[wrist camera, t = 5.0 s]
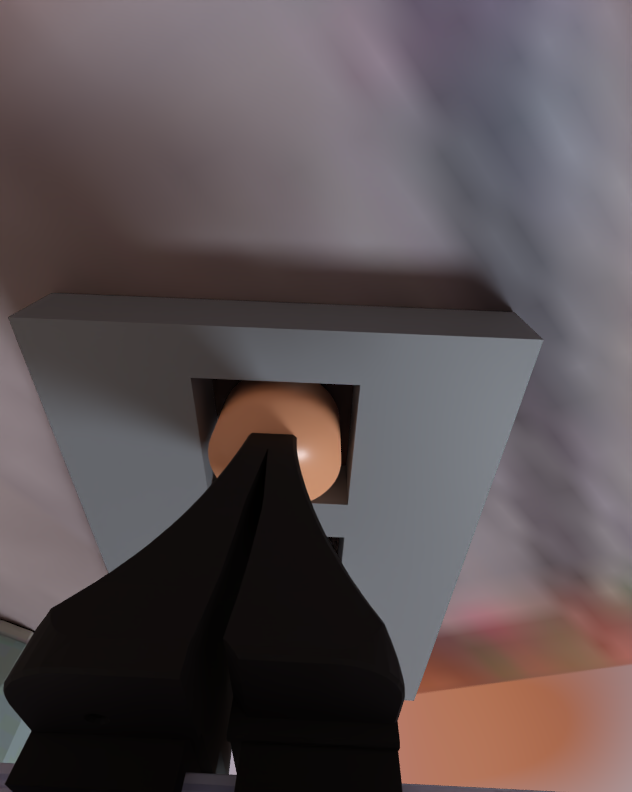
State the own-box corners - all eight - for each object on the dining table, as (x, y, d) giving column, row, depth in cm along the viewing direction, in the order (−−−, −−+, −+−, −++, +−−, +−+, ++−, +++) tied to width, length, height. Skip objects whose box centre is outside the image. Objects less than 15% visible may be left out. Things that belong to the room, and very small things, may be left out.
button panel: (514, 312, 12) (543, 339, 11) (407, 660, 23) (413, 700, 22) (52, 293, 12) (8, 317, 11) (166, 647, 24) (153, 686, 22)
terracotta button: (343, 372, 13) (345, 408, 11) (336, 467, 15) (337, 509, 13) (217, 367, 13) (200, 401, 11) (228, 463, 15) (215, 503, 13)
